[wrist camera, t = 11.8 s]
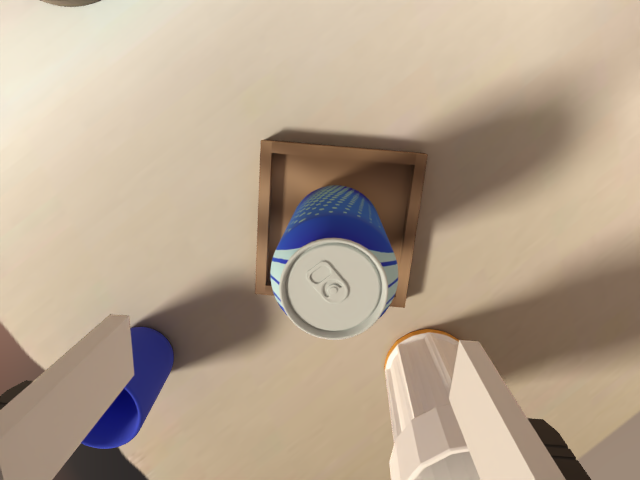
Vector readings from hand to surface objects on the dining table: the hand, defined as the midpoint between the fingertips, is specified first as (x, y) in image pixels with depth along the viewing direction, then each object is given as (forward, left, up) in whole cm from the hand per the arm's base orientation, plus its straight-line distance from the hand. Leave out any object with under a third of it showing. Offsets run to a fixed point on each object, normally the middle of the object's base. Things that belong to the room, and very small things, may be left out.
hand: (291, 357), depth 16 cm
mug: (+18, -20, -25) cm, 37 cm away
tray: (+1, +2, -25) cm, 25 cm away
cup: (+16, +13, -25) cm, 32 cm away
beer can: (+1, +2, -25) cm, 25 cm away
